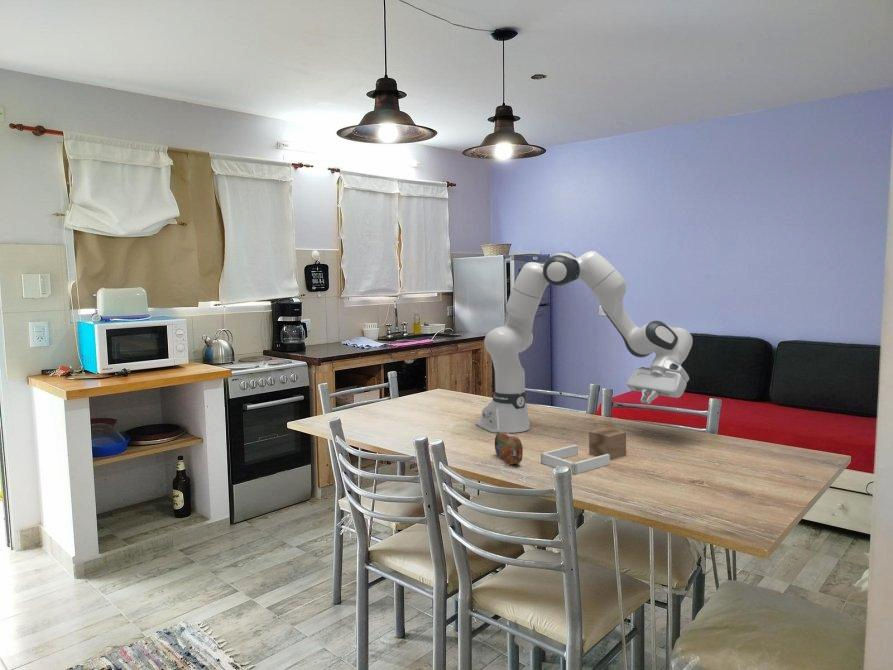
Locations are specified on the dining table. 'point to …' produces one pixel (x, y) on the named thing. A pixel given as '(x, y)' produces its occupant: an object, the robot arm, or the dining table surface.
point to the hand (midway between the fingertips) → (644, 402)
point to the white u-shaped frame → (556, 459)
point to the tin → (508, 448)
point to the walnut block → (607, 443)
